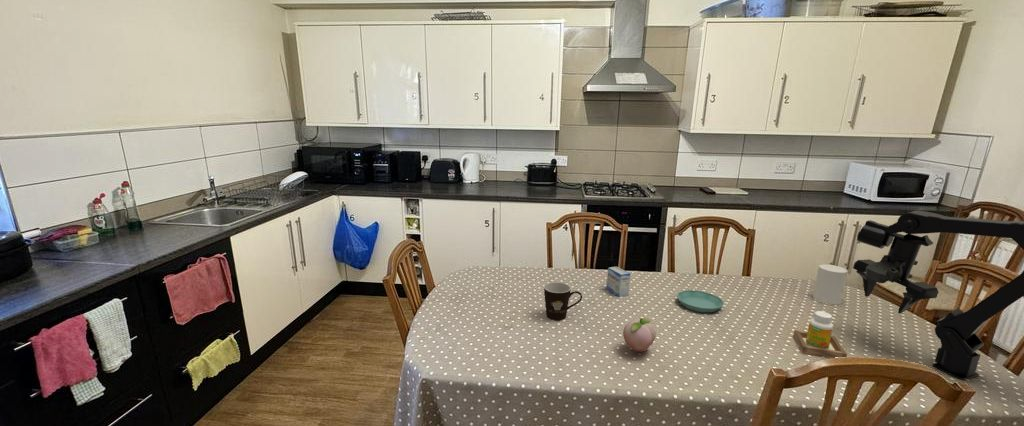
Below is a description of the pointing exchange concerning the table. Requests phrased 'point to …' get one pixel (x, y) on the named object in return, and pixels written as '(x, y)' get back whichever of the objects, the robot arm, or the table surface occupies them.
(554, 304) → the coffee mug
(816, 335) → the supplement bottle
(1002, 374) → the table surface
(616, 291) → the medicine box
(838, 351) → the tray
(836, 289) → the cup
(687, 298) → the saucer
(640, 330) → the decorative fruit
